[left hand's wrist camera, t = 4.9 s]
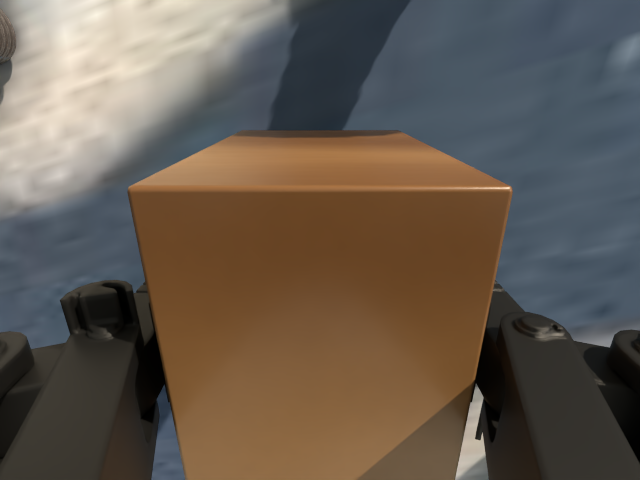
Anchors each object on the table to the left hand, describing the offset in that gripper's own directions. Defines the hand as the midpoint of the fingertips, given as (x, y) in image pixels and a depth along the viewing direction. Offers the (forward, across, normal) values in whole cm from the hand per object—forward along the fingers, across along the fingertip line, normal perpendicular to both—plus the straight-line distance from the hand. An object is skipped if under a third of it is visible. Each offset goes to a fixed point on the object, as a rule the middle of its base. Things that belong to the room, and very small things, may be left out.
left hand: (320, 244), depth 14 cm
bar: (+1, 0, -7) cm, 7 cm away
